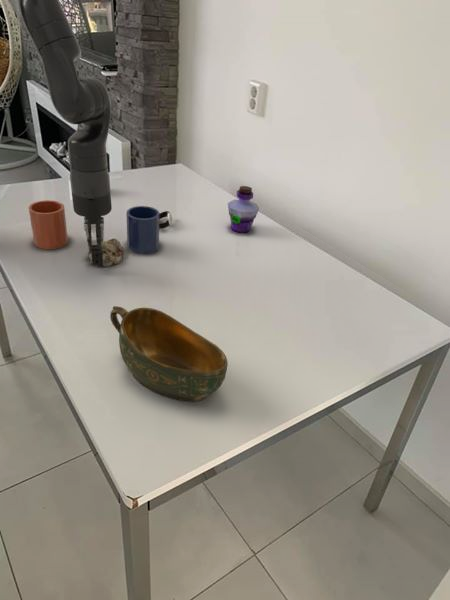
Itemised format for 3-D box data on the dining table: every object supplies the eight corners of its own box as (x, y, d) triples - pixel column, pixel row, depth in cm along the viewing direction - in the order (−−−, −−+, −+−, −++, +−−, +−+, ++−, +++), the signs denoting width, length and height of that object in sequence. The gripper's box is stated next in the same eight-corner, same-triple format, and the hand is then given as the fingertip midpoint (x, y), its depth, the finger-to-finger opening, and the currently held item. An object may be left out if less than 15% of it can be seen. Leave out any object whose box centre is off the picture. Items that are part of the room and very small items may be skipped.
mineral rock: (114, 262, 99) (82, 246, 99) (110, 278, 102) (78, 262, 102) (135, 243, 108) (105, 228, 108) (130, 257, 111) (101, 243, 111)
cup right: (126, 253, 108) (125, 218, 103) (129, 238, 114) (128, 205, 109) (158, 254, 109) (158, 220, 104) (159, 239, 115) (160, 207, 110)
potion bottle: (222, 232, 122) (226, 190, 115) (227, 219, 129) (232, 179, 122) (253, 238, 121) (260, 195, 114) (257, 224, 128) (263, 184, 121)
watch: (170, 231, 119) (170, 219, 117) (152, 229, 119) (152, 217, 117) (173, 219, 126) (174, 207, 124) (156, 217, 126) (157, 205, 124)
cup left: (30, 248, 105) (24, 212, 100) (38, 233, 112) (33, 199, 107) (64, 250, 106) (59, 214, 101) (70, 235, 113) (66, 201, 107)
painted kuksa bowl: (172, 331, 86) (174, 286, 80) (230, 401, 73) (238, 354, 67) (107, 351, 79) (104, 305, 74) (158, 433, 66) (159, 384, 60)
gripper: (73, 177, 95) (81, 251, 104) (69, 201, 84) (78, 281, 94) (110, 177, 96) (114, 250, 106) (110, 201, 86) (116, 279, 95)
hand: (97, 264), depth 100 cm, fingers closed
